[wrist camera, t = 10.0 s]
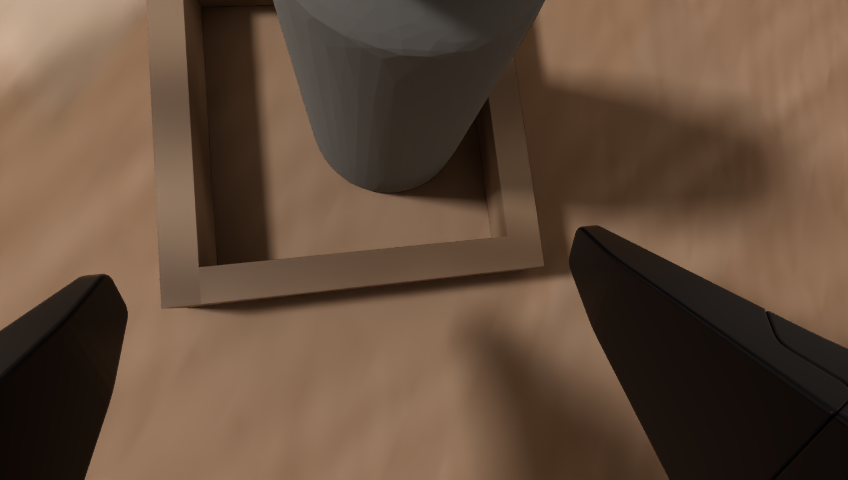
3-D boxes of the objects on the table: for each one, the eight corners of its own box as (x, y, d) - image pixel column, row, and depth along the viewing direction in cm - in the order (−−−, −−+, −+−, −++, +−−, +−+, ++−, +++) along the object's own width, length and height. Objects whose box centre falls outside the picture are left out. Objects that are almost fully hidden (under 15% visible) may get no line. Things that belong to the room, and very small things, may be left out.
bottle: (372, 27, 19) (399, -878, 4) (485, 113, 19) (877, -490, 5) (281, 134, 18) (-74, -588, 3) (402, 224, 18) (562, -97, 4)
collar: (525, 269, 19) (544, 266, 17) (185, 307, 17) (161, 308, 15) (483, -27, 20) (496, -62, 18) (167, -21, 18) (143, -60, 16)
